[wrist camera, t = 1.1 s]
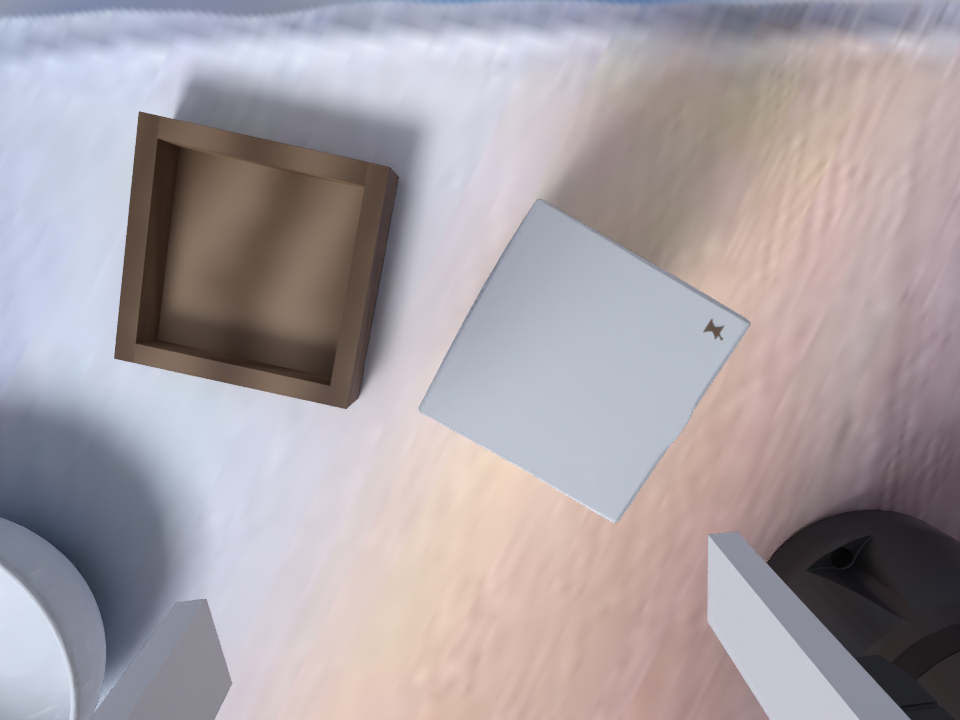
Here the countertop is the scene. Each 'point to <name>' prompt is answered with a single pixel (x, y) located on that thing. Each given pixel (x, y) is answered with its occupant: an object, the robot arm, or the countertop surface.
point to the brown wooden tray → (252, 260)
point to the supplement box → (581, 361)
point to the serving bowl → (46, 632)
